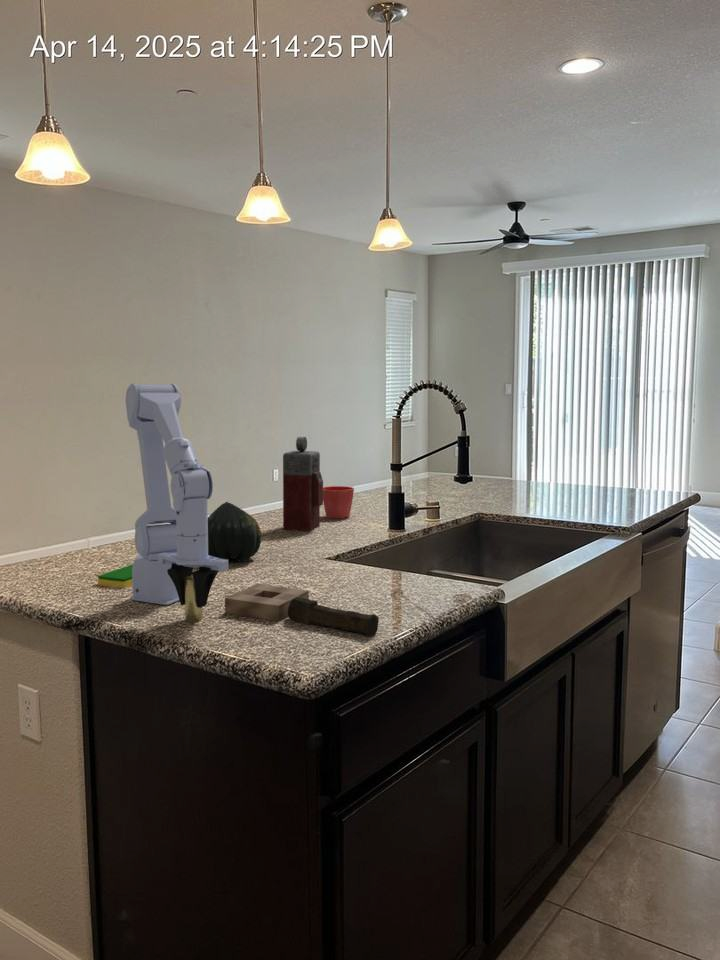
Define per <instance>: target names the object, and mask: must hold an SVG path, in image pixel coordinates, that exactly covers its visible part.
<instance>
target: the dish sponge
mask: <svg viewBox="0 0 720 960" xmlns="http://www.w3.org/2000/svg"><path fill="white" fill-rule="evenodd" d="M132 567H133V564H129V565H126V566H124V567H121V568H120V567H119V568H118V569H115V570H112V571H108V572H106V573H102V574H100V575H97V585H98V586H104V587H112V588H118V587H119V588H121V589H125V587H126V588H128V587H130V586H132Z"/></svg>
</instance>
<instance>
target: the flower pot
mask: <svg viewBox="0 0 720 960" xmlns="http://www.w3.org/2000/svg"><path fill="white" fill-rule="evenodd" d="M354 491H355V488H354V487H351V486H345V485H344V486H342V485H340V486H339V485H337V486H336V485H335V486H334V485H333V486H323V506H324V512H325V516H327V517H326V518H328V517H329V519H346V518H345V517H348V518H349V517H350V514H351V511H352V510H351V509H352V504H353V499H354V493H355V492H354Z"/></svg>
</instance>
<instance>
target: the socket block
mask: <svg viewBox="0 0 720 960" xmlns="http://www.w3.org/2000/svg"><path fill="white" fill-rule="evenodd" d="M309 595H310V591H309V589H308V590H306V589H298V588H291V587H284V586H277V585H269V584H260V583H257V584H254V585H252V586H249V587H247V588H245V589H242V590H241V591H238V592H235V593H234V594H231V595H229V596H226V597H225V598H224V613H225V614H228V615H236V616H242V617H248V618H254V619H255V618H256V619H261V620H267V621H275V622H281V621H282V620H285V619H286V618H289V617H288V607H289V605H290V602H291V600H292V599H294V598H295V597H298V598H305V599H308V600H310V599H309V597H310V596H309Z"/></svg>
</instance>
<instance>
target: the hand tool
mask: <svg viewBox="0 0 720 960" xmlns="http://www.w3.org/2000/svg"><path fill="white" fill-rule="evenodd" d="M287 618H289V619H290V620H292V621H294V622H296V623H297V622H298V623H301V624H305V625H307V626H310V625H315V624H317V625H322V626H326V627H333V628H338V629H342V630H345V631H350V632H354V633H358V634H364V635H366V638H371V637H373V636H375V635H376V634H377V632H378V629H379V628H378V627H379V622H380V621H379V616H378V615H377V614H375V613H373V614H365V613H362V612H361V613H360V612H358V611H357V612H356V611H353V610H343V609H339V608H333V607H328V606H325V605H321V604H318V601H317V600H313V599H309V600H308V599H305V598H298V597H295V598H294V599H292V600H291V602H290V605H289V607H288V617H287Z"/></svg>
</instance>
